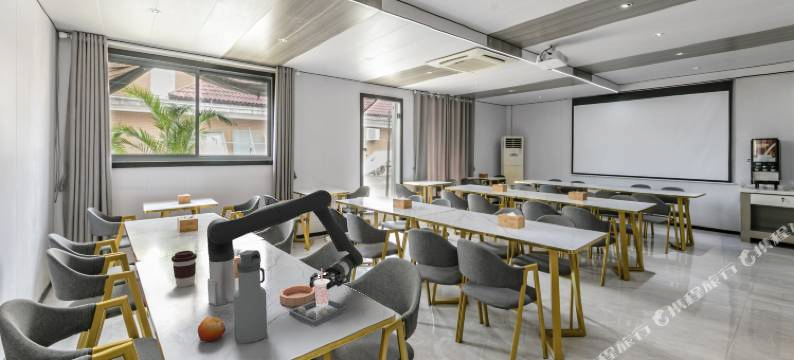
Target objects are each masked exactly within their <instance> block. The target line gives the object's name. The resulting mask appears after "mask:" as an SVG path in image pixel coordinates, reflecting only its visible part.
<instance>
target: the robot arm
mask: <svg viewBox="0 0 794 360" xmlns="http://www.w3.org/2000/svg"><path fill="white" fill-rule="evenodd" d="M331 203H332V195H331V193H330V192H329V191H327V190H325V189H317V190H315V191H313V192H311V193H307V194H305V195H304V196H303V195H302V196H301V197H296V198H292V199H287V200H283V201H279V202H276V203H271V204H269V205H265V206H263V207H262V206H261V207H260V208H257V209H255V210H254V211H252V212H251V213H248V214H246V215H244V216H241V217H237V218H233V219H226V218H221V217H220V218H216V219H213V220H212V221H210V222H209V224H208V226H207V229H206V234H207V235H206V236H207V237H206V239H207V254H208V264H209V265H208V268H209V278H207V292H208V293H207V294H208V300H207V301H208V303H209V304H211V305H213V306H214V307H217V306H222V305H227V304H231V303H234V301H233V296H234V294H235V292H236V291H237V290H236V269H235V265H236V264H235V251H234V250H235V248H234V242H233V241H234V240H237V239H238V238H241V237H243V236H245V235H248V234H251V233H254V232H258V231H262V230H265V229H269V228H272V227H275V226H279V225H282V224H284V223H287V222H289V221H291V220H293V219H294V220H295V218H298V217H299V216H302V215H305V214H308V213H311V212H313V214H314V215H315V216H316V218H317V220H319V222H320V223H321V225H322V226H323V228H324V229H325V232H326V233H327V234H328V236H329V238H330V240H331V242H332V244H333V245H334V248H335V250H336V251H337V252H338V253H342V252H347V254H345V255H343V256H342V257H340V258H339V260H338V261H336V262H334V263H332V264H331V265H329V266H328V267H327V268H326V269H325V271H324V272H322V279H329V280H330V282H328V283H327V285H326V289H328V290H329V291H330V289H332V288H334V287H335V286H336V287H338V288H339V287H342V285H344V284H346V282H347V275H349V273H351V272H352V270H354V269H355V268H358V267H361V265H362V264H363V263H364V258H363V257H364V256H363V255H362V253H361V252H360V251H359V250H358V249H357V247H356V246H354V245H353V243H351V241H350V239H349V237H348V235H347V234H346V232H345V230H344V229H343V227H342V226H341V225H340V224H339V222H338V221H337V220H336V219H335V218H334V216H333V214H332V213H331V210H330V208H329V207H330V205H331ZM317 279H321V274H318V272H314V273H313V274H311V276H310V277H309V286H310V288H313V287H315V285H314V281H315V280H317Z"/></svg>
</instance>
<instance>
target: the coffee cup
mask: <svg viewBox="0 0 794 360" xmlns="http://www.w3.org/2000/svg"><path fill="white" fill-rule="evenodd" d="M197 258H198V254H197V253H195V252H193V250H182V251H177V252H176V253H175V254H174V255H173V256H171V258H170V259H171V262H172V263H173V265H172V267H173V275H174V279H175V285H176V287H178V288H186V286H187V287H190V285H191V286H193V285H194V284H195V282H196V273H197V272H196V271H197V270H196V269H197V267H196V266H197V265H196V264H197V262H196V259H197Z"/></svg>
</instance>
